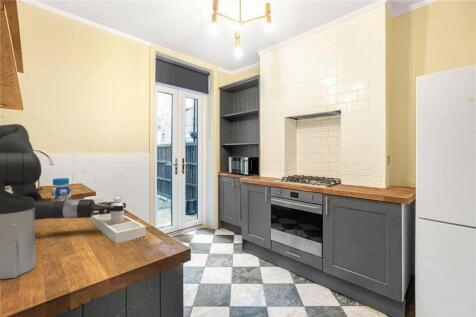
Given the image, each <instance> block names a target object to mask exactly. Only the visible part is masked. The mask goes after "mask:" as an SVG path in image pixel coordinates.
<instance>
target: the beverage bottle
mask: <svg viewBox="0 0 476 317" xmlns="http://www.w3.org/2000/svg"><path fill="white" fill-rule="evenodd" d="M69 184H70V179H69V178H68V177H60V178H59V177H58V178H57V177H56V178H52V186H53V187H52V188H51V190H50V193H51V196H50V202H54V201H69V200H72V194H71V188H70V186H69Z"/></svg>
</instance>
